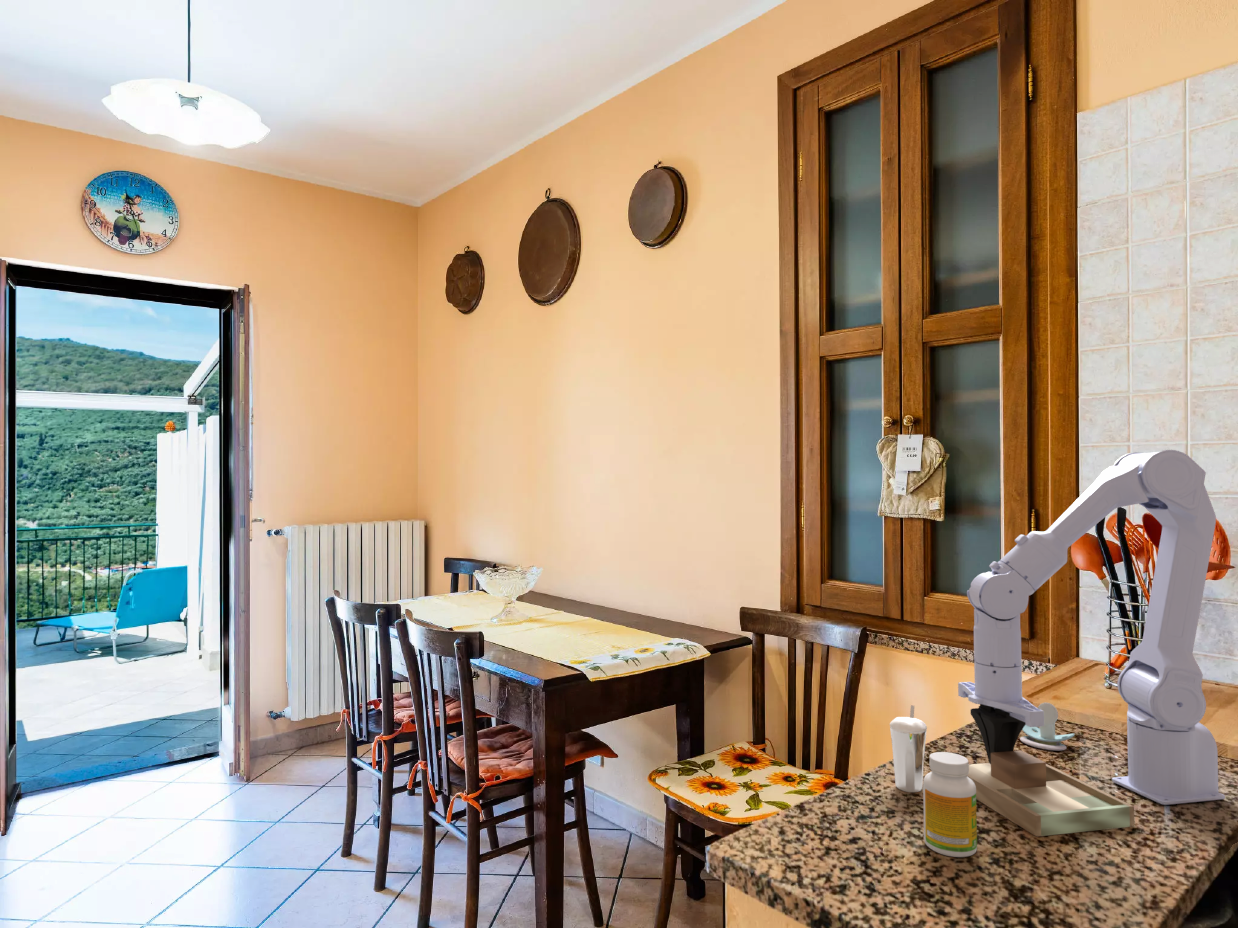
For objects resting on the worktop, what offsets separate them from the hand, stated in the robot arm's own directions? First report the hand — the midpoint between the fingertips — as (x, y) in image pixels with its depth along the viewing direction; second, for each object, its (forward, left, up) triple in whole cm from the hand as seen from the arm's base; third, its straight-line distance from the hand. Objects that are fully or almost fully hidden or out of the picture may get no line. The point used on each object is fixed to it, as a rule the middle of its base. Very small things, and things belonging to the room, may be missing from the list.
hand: (999, 764), depth 102 cm
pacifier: (-17, -12, -3) cm, 21 cm away
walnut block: (0, +4, -1) cm, 4 cm away
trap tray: (0, +6, -2) cm, 6 cm away
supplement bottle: (+18, +15, -2) cm, 23 cm away
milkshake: (+13, -1, -2) cm, 13 cm away
